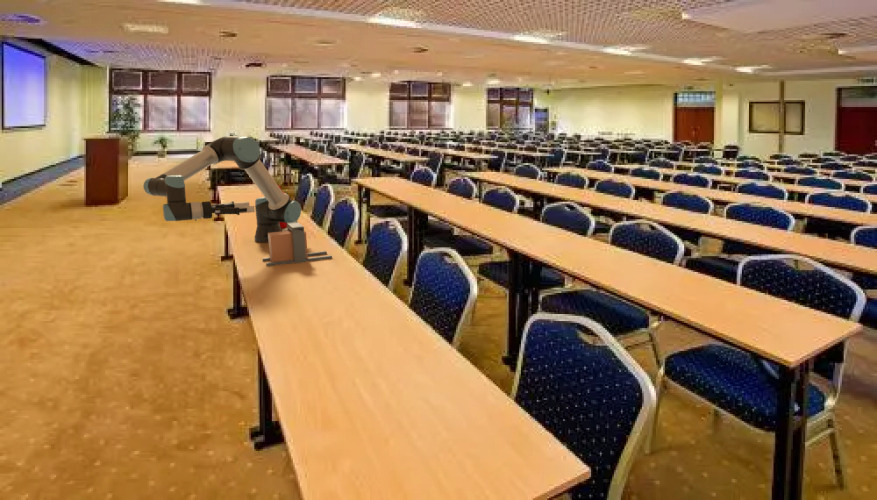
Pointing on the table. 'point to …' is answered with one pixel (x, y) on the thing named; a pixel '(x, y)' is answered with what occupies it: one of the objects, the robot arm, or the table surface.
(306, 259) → the grey stand
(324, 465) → the table surface
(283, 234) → the brick
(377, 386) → the table surface
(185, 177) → the robot arm
